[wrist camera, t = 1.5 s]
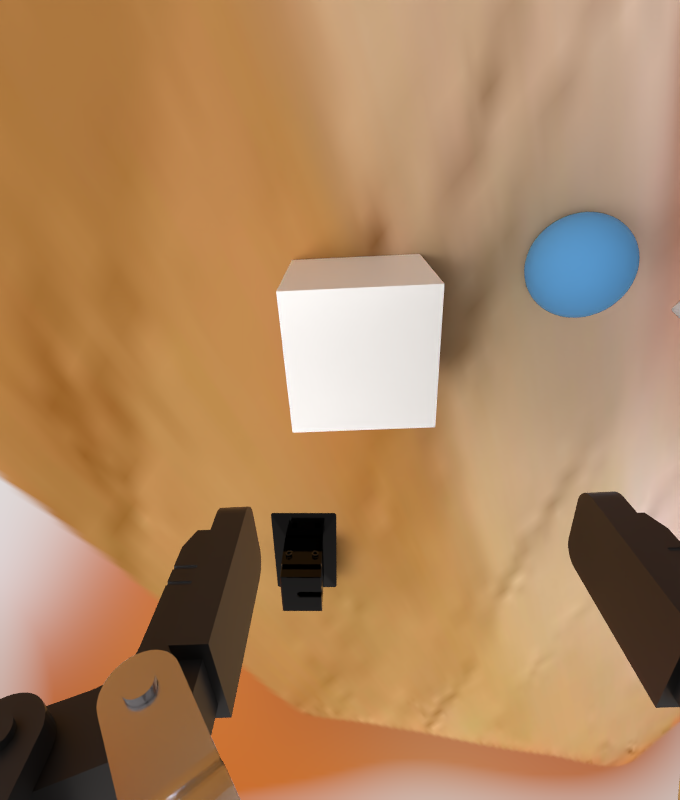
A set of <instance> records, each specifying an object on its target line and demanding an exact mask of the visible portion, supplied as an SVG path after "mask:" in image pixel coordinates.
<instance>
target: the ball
mask: <svg viewBox="0 0 680 800" xmlns="http://www.w3.org/2000/svg"><path fill="white" fill-rule="evenodd" d="M638 267H639V249H638V244H637V241H636V239H635V237H634V235H633V234H632V232H631V231H630V229H629V228H628V227H627V226H626V225H625V224H624V223H622V222H621V221H620V220H618V219H616V218H615V217H613V216H610V215H607V214H604V213H598V212H581V213H576V214H572V215H568V216H566V217H563V218H561V219H559V220H557V221H556V222H554V223H553V224H551V225H550V226H548V227H547V228H546V229H545V230H543V231H542V233H541V234H540V235H539V236H538V237H537V238H536V240H535V241H534V242H533V244H532V246H531V248H530V250H529V252H528V254H527V257H526V261H525V268H524V275H525V283H526V286H527V289H528V291H529V293H530V295H531V297H532V298H533V299H534V301H535V302H536V303H537V304H538V305H540V306H541V307H542V308H543V309H545V310H546V311H548V312H550V313H553V314H555V315H559V316H563V317H573V318H576V317H586V316H590V315H593V314H596V313H599V312H601V311H603V310H605V309H607V308H609V307H611V306H612V305H613V304H615V303H616V302H617V301H618V300H619V299H620V298H622V297H623V295H624V294H625V293H626V292H627V291H628V289H629V288H630V286H631V285H632V283H633V281H634V279H635V277H636V274H637V271H638Z"/></svg>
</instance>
